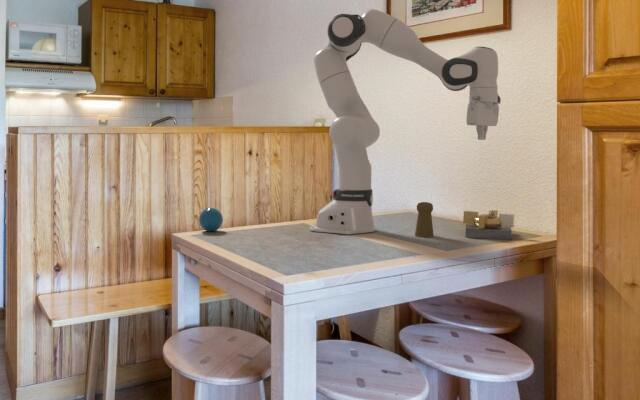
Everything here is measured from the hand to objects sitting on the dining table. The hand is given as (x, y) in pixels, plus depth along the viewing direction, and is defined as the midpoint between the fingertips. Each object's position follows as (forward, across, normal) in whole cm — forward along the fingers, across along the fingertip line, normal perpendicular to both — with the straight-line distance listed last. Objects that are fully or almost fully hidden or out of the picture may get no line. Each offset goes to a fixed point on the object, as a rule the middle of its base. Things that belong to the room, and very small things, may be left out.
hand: (481, 139), depth 191 cm
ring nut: (+28, -4, -4) cm, 29 cm away
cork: (+31, -17, +12) cm, 38 cm away
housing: (+31, -4, -4) cm, 32 cm away
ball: (+31, -52, +74) cm, 96 cm away
